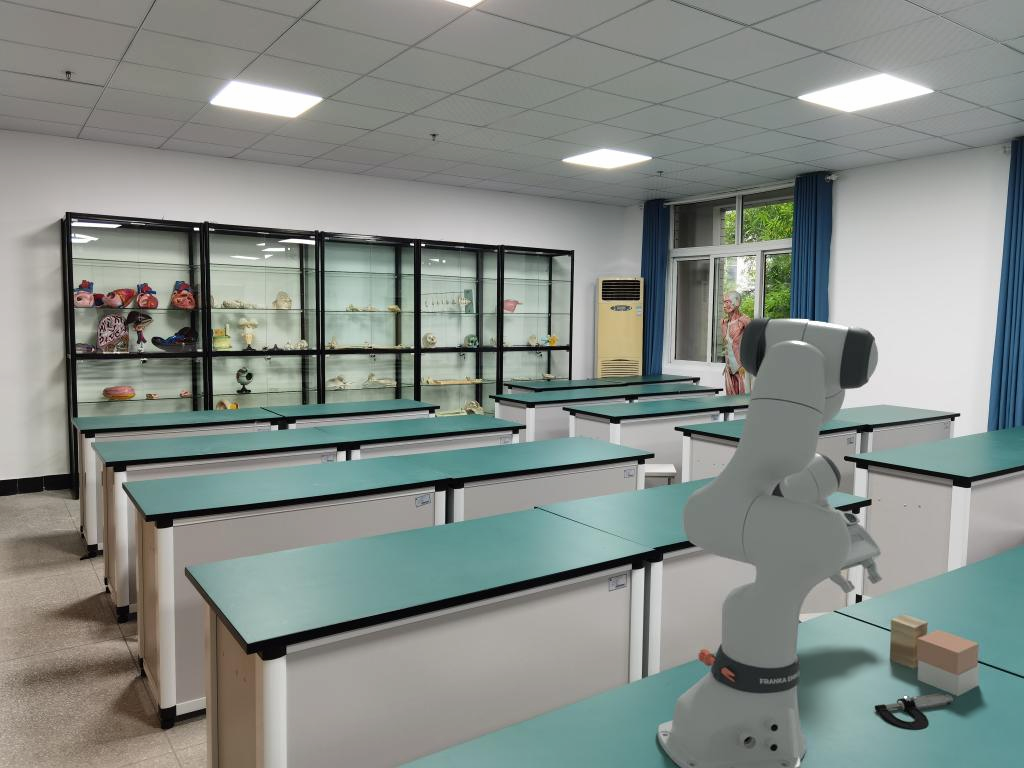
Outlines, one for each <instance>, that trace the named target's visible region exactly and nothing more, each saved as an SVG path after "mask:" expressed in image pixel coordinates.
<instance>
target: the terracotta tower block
mask: <svg viewBox="0 0 1024 768" xmlns="http://www.w3.org/2000/svg"><path fill="white" fill-rule="evenodd" d="M917 660H919V661H922V662H924V663H927V664H930V665H932V666H935V667H937V668H940V669H942V670H945V671H948V672H950V673H953V674H955V675H959V674H961V673H963V672H965V671H967V670H969V669H971V668H973V667H975V666H977V665H979V663H978V662H979V643H978V642H975V641H972V640H970V639H966V638H964V637H960V636H958V635H955V634H952V633H949V632H945V631H943V630H940V629H937V630H934V631H931V632H930V633H927V635H925V636H922V637H920V638H918V642H917Z"/></svg>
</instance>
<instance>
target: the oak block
mask: <svg viewBox="0 0 1024 768" xmlns="http://www.w3.org/2000/svg"><path fill="white" fill-rule="evenodd" d="M928 624H929V622H928V621H925V620H921V619H919V618H916V617H913V616H909V615H906V614H902V615H899V616H896V617H894V618H891V619H890V644H889V646H890V647H889V660H890V661H892V662H895V663H897V662H898V664H900V665H903V666H905V667H907V666H908V668H910V669H915V668H918V667H917V666H918V660H917V642H918V638H920V637H922V636H925V635H927V634H928Z"/></svg>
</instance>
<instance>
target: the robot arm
mask: <svg viewBox="0 0 1024 768" xmlns="http://www.w3.org/2000/svg"><path fill="white" fill-rule="evenodd" d="M738 355H739V356H738V357H739V362H740V365H741V367H742V369H743V370H744V371H746V373H748V374H751V375H752V377H755V380H754V382H753V386H752V389H751V394H750V399H749V402H748V407H747V412H746V415H745V420H744V423H743V427H742V431H741V435H740V438H739V442H738V444H737V448H736V450H735V452H734V453H733V455H732V458H731V459H730V461H729V462H728V463H727V465H726V466H725V468H724V469H723V470H722V471H721V472H720V473H719V474H718V475H717V476H716V477H715V478H714V479H712V481H709V483H707V484H706V485H704V486H702V487H700V488H698V489H696V490H695V491H694V492H692V494H690V496H689V497H688V499H687V500H686V502H685V504H684V507H683V510H682V514H681V520H682V521H681V524H682V528H683V532H684V534H685V536H686V539H687V540H688V541H689V542H690V543H691V544H692V545H694V546H696V547H697V548H700V549H702V550H704V551H706V552H708V553H710V554H711V555H715V556H716V557H717V556H718V557H720V558H725V559H729V560H732V561H736V562H741V563H745V564H749V565H752V566H754V567H755V570H756V571H755V574H756V575H755V578H754V579H755V580H754V581H753V582H750V583H745V584H743V585H740V586H738V587H735V588H733V589H732V590H731V591H729V593H728V594H727V595H726V596H725V599H724V600H723V602H722V606H721V607H722V608H721V644H719V647H718V649H717V651H716V653H715V655H714V653H711V652H710V651H709V650H708V649H706V648H702V649H701V650H699V652H698V656H697V657H698V660H699V661H700V662H702V663H704V665H705V666H707V667H710V671H709V672H707V674H705V675H704V676H703V677H702V678H700V679H699V680H698V681H697V682H696V683H694V684H693V685H692V686H691V687H690V688H689V689H688V690H686V691H685V692H684V693H682V694H681V695H680V696H679V697H678V698H677V700H676V703H675V706H674V709H673V715H672V720H669V721H666V722H663V723H660V724H659V725H658V729H657V740H658V742H659V744H660V746H661V748H662V749H663V750H664V752H665V753H666V754H667V755H668V757H669V758H670V759H671V760H672V761H673V762H674V763H675V764H677V766H678V767H680V768H802V764H801V760H802V758H803V757H804V756H805V753H806V750H807V744H806V741H805V738H804V734H803V730H802V726H801V719H800V712H799V702H798V689H797V688H798V687H797V686H798V685H799V682H800V657H799V654H798V652H797V650H798V649H797V648H798V633H799V624H800V615H801V610H802V607H803V604H804V602H805V600H806V598H807V597H808V595H809V593H811V591H812V590H813V589H814V588H815V587H816V586H818V584H820V583H821V582H823V581H825V580H827V579H829V580H830V581H831V582H833V583H834V584H836V585H838V586H839V587H840V588H841V590H842V591H843V593H845V594H849V593H851V592H852V591H854V590H855V588H856V587H855V585H854V584H853V582H852V580H847V579H846V578H845V577H844V576H842V572H841V571H845V570H849V569H851V568H856V567H858V566H862V567H863V569H864V570H865V569H866V571H867V574H868V576H867V579H868V580H869V581H870V583H871V584H874V585H875V584H878V583H880V582H881V581H882V580H883V577H882V576H881V575H880V573H879V572H878V568H877V563H876V561H875V560H876V559H878V557H880V556H881V552H882V551H881V548H880V547H879V545H878V543H877V542H876V541H875V539H874V538H873V536H872V535H871V534H870V533H869V531H868V529H866V528H865V527H864V526H863V525H862V524H859V523H860V522H861V520H860V518H859V517H858V515H856V513H851V512H846V511H842V510H840V509H836V508H835V507H834V505H832V503H830V502H829V500H828V497H830V496H832V495H833V494H835V492H837V491H838V490H839V488H840V484H841V480H842V479H841V477H842V476H841V475H842V474H841V471H840V470H839V469H838V466H837V465H836V464H835V462H834V461H833V460H832V459H831V458H830V457H828V456H826V455H824V454H823V453H820V452H817V447H818V441H819V438H820V431H821V428H822V427H824V426H825V425H827V424H828V423H830V422H831V421H832V420H834V419H835V417H836V416H837V415H838V414H839V412H840V410H841V408H842V406H843V403H844V401H845V396H846V390H850V389H851V390H854V389H859V388H861V387H863V386H864V385H866V384H868V383H869V380H870V378H871V377H872V376H873V374H874V372H876V371H875V370H876V368H877V365H878V362H879V350H878V346H877V344H876V338H875V336H874V335H873V334H872V333H871V332H870V330H868V329H866V328H862V327H859V326H855V325H850V326H846V325H840V324H836V323H831V322H825V321H816V320H812V319H808V318H806V319H805V318H774V319H773V318H772V317H771V316H770V317H769V316H768V317H759V318H753V319H752V320H751V321H750V322H748V323H747V324H746V325H745V327H744V328H743V331H742V334H741V335H740V338H739V341H738Z"/></svg>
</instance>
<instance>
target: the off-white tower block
mask: <svg viewBox="0 0 1024 768" xmlns="http://www.w3.org/2000/svg"><path fill="white" fill-rule="evenodd" d="M979 675H980V665H979V664H978V665H977V666H975V667H973V668H971V669H969V670H967V671H965V672H963V673H961V674H959V675H955V674H953V673H950V672H948V671H945V670H942V669H940V668H937V667H935V666H932V665H930V664H927V663H924V662H922V661H919V660H918V667H917V680H918V681H920V682H922V683H925V684H927V685H929V686H931V687H935V688H937V689H940V690H942V691H945V692H947V693H949V694H950V695H951V694H952V695H954V696H955V697H959V696H961V695H963V694H965V693H967V692H969V691H971V690H973V689H974V688H976V687H978V686H979V679H980V678H979V677H980V676H979Z"/></svg>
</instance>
